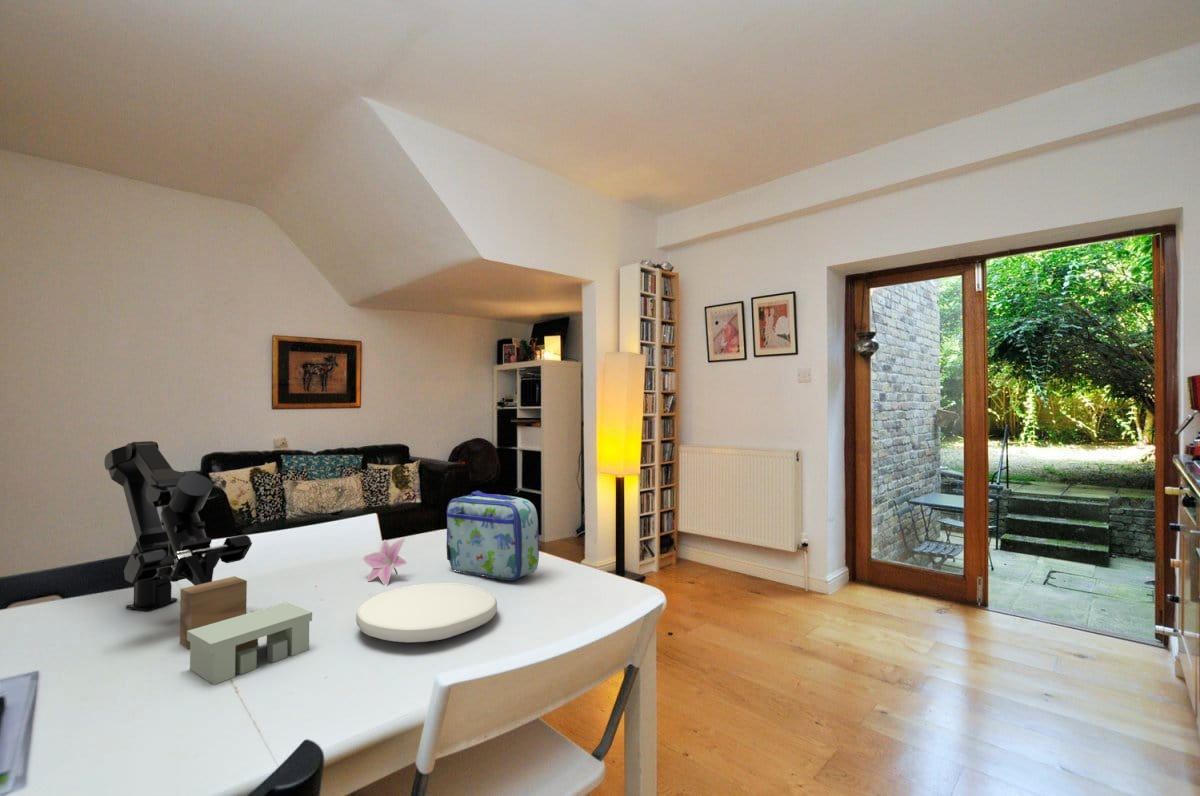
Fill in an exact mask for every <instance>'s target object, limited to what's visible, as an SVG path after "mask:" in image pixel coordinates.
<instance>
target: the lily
mask: <svg viewBox="0 0 1200 796" xmlns="http://www.w3.org/2000/svg"><path fill="white" fill-rule="evenodd" d="M405 540H406V538H404V537H403V538H401V539H399V540H396V541H395V542H394V543H392V544H391V545H390V544H389V542H388V541H387V540H386V539H383V541H382V543H381V545H380V548H379V551H377V552H372V553H369V554H366V555H365V556H363V557H362V562H364V563H365V564H366V565H368V566H369V567H371V568H372V570H371V571H370V573H369V574H368V577H367V580H366V582H367V581H369V582H371V581H372V580H374V579H376V578H377V577H379V579H380V581H381V582H382V583H381V584H383V585H384V584H386V585H387V586H388V585H389V582H390V579H391V576H392V573H393V570H394V572H395V575H396V574H397V575H398V571H397V568H400V567H402V566H405V565H407V564H408V563H407V561H406V559H404V558H402V557H401V556H399V553H400V551H401V549H402V547H403V545H404V543H405Z"/></svg>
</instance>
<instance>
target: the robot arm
mask: <svg viewBox="0 0 1200 796" xmlns="http://www.w3.org/2000/svg"><path fill="white" fill-rule="evenodd" d="M104 468H105V470H106V471H107V472H108V474H109V477H110V479H111V480H112V481H113V482H115V483H117V484H118V485H120V486H122V488H123V492H124V496H125V498H126V500H125V501H126V504H127V507H128V512H129V514H130V519H131V522H132V526H133V531H134V533H135V538H136V542H135V544H134V546H133V548H132V549H131V552H130V554H129V555H130V556H129V558H128V560H127V562H126V564H125V567H124V569H123V574H124V580H125V581H127V582H128V583H130V584H133V603H131V604H127V605H126V606H125V608H126V609H128V608H131V609H130V610H136V609H138V610H139V611H146V612H147V611H152V610H155V609H158V608H161V607H164V606H166V605H168V604H172V603H175V602H177V601H178V598H177V597H172V583H175V582H179V581H181V580H187V581H189V582H190V583H191V584H193V585H192V586H195V585H199V584H204V583H208V582H212V581H213V575H214V569H215V568H216V566H217V564H218V563H219V561H221V562H223V563H224V564H229V563H234V562H239V561H242V560H243V559H245V557H246V555H247V554H248V553H249V550H250V548H251V547H252V544H253V543H252V540H251V537H249V536H248V535H246V534H241V535H236V536H230V537H229V536H228V537H226V538H225V540H224V542H223V544H222V545H217V546H211V544H212V539H211V537H209V536H208V537H207V534H206V531H205V527H206V522H205V520H202V521H201V518H200V515H199V513H198V512H200V511H201V510H202V509H203V508H204V506H205V504H206V502H207V500H208V499H209V498H208V497H209V496H210V493H211V491H212V489H213V488H214V487H213V485H214V484H213V482H212V480H210V479H209V478H208V477H206V476H204V475H201V474H197V471H196V470H186V471H185V470H183V472H182V471H179V470H175V469H174V468H173V467H172V466H171V465H170V463H169V462H168V461H167V459H166V458H165V456H164V455H163V454H162V452H161V451H160V449H159V443H158V442H157V441H153V440H152V441H151V440H148V441H144V440H143V441H132V442H129V443H127V444H126V445H124V446H121V447H117V448H115V449H112V450H110V451H108V453H107V454H106V455H105V457H104ZM160 507H164V508H163V509H162V511H161V512H160V515H159V511H158V508H160ZM160 517H161V518H160ZM163 527H164V528H165V529H164V528H163Z"/></svg>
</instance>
